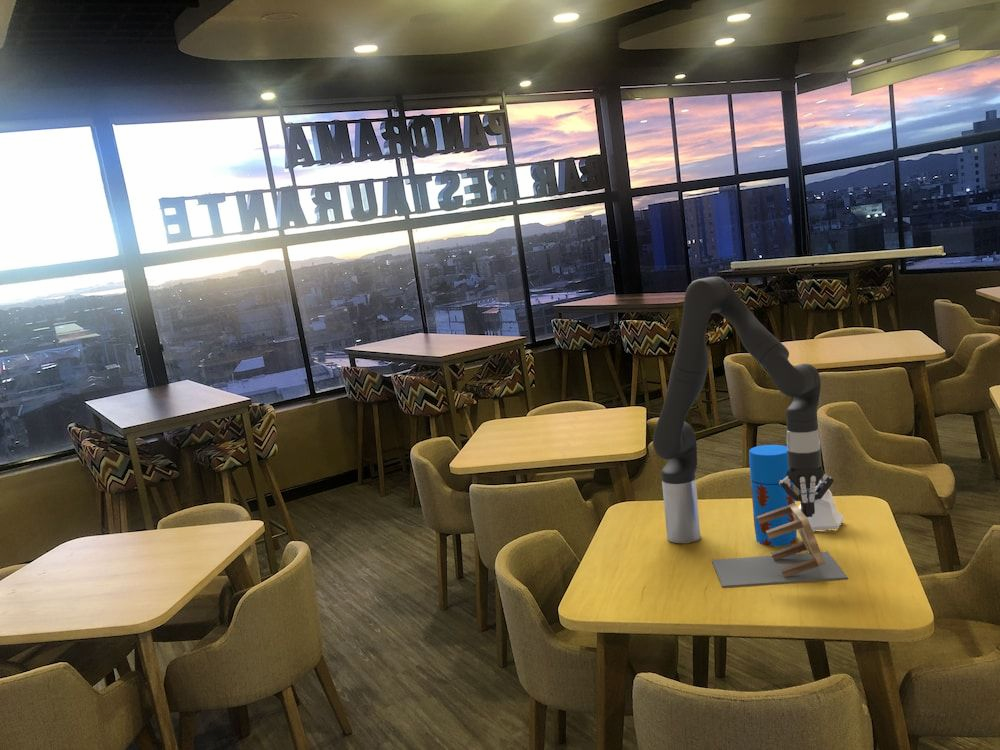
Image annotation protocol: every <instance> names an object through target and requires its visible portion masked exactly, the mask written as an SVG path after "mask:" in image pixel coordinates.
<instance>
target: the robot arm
mask: <svg viewBox="0 0 1000 750" xmlns="http://www.w3.org/2000/svg"><path fill="white" fill-rule="evenodd" d="M683 299H684V300H683V308H682V314H681V315H682V317H681V325H680V330H679V334H678V335H679V336H678V339H677V345H676V349H675V354H674V358H673V361H672V364H671V370H670V374H669V380H668V385H667V388H666V392H665V397H664V399H663V400H664V401H663V405H662V408H661V411H660V415H659V417H658V420H657V423H656V426H655V428H654V431H653V435H652V447H653V450H654V452H655V454H656V455H657V456H658V457H659V458H661V459H663V460H667V462H666V464H665V465H664V467H663V468H662V470H661V471H660V472H661V475H660V476H661V485H662V497H663V507H664V516H665V529H666V538H667V541H669V542H671V543H676V544H690V543H694V542H697V541H699V540H700V539H701V527H700V515H699V514H700V513H699V503H698V492H697V490H698V489H697V482H696V481H697V479H696V471H697V468H698V450H697V449H698V448H697V447H698V446H697V444H698V443H697V437H696V432H695V430H694V429H693V427H692V426H691V425H690V424H689V423H688V422H687V421H686V419H687V415H688V413H689V412H690V410H691V408H692V407H693V405H694V403H695V402H696V400H697V399H698V397H699V396H700V394H701V392H702V390H703V388H704V386H705V383H706V378H707V374H708V369H709V367H710V359H709V351H708V348H707V343H706V333H707V328H708V324H709V320H710V317H711V315H712V314H715V313H717V314H719V315H721V317H723V318H724V319H725V320H727V322H729V323H730V324H731V325H732V326H733V328H734V329H735V331H736V333H737V335H738V337H739V339H740V342H741V344H742V346H743V347H744V349H745V350H746V351H747V353H749V355H751V357H752V358H754V359H755V360H756V362H758V363H759V364H760V365H761V366H762V367H763V368H764V369H765V371H766V373H767V375H768V376H769V378H770V379H771V381H772V383H773V384H774V386H776V388H777V389H778V390H779V392H781V393H782V394H783V395H785V396H787V397H789V398H792V402H791V403H790V405H788V407H787V408H786V410H785V419H786V420H785V421H786V423H785V424H786V446H787V454H788V472H787V477H785V478H784V479H783V480H779V484H780V485H781V486H782V488H783V489H784V490H785V491H786V492H787V493H788V494H789V495H790V496H791V497H792V498H793V499H794V500H795V502H800V504H801V511H802V512H803V514H804V515H805V516H806V517H812V514H814V513H815V508H814V502H815V500H817V499H821V498H822V497H823V495H824V494H825V493H826V491H827V490H828V489H829V490H830V488H831V486H832V485H833V483H834V478H833V477H831V476H830V475H827V474H825V471H824V470H823V467H822V455H821V454H822V453H821V445H822V444H821V439H820V438H821V437H820V433H819V425H818V412H817V411H818V408H819V407H818V406H819V402H820V401H819V400H820V395H821V388H822V384H821V383H822V382H821V376H820V373H819V371H818V369H817V368H816V367H815V366H813V364H809V363H800V364H798V365H795V366H794V365H793V364H792V363H791V361H789V359H788V358H789V357H790V351H789V349H788V348H787V347H786V346H785V345H784V344H783V343H782V342H781V341H779V339H778V338H777V337H776V336H775V335H773V334H772V333H771V332H770V331H769V330H768V329H767V328H766V327H765V326H764V324H762V323H761V322H760V321H759V320H758V319H757V317H756V316H755V315H754V313H752V312H751V310H750V309H749V308H748V306H747V305H746V303H744V301H743V300H742V299H741V297H740V296H739V294H738V293H737V292H736V291H735V289H734V288H733V287H732V285H730V283H729V282H728V281H727V280H726V279H724V278H723V277H721V276H709V277H708V276H707V277H703V278H698V279H695V280H693V281H691V283H690V284H689V285H688V286H687V288H686V291H685V294H684V298H683ZM790 480H791V481H792V483H793V484H794V487H796V488H797V491H798V494H797V493H796V492H795V490H794V491H793V490H792V489H791V488H790V485H791V484H790ZM820 480H821V482H822V483H821V484H820V486H819V487H818V488H817V490H816V491H815V487H816V486H817V485H818V483H819V482H820Z"/></svg>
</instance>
